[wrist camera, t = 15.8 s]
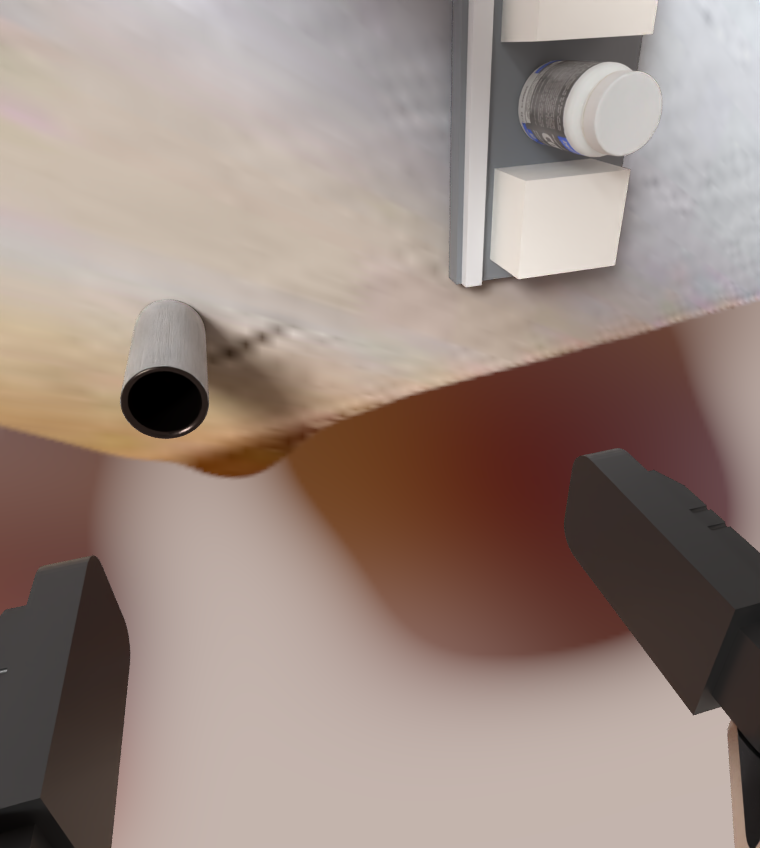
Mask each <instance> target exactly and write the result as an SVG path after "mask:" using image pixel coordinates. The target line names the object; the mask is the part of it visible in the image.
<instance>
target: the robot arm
mask: <svg viewBox="0 0 760 848" xmlns="http://www.w3.org/2000/svg"><path fill="white" fill-rule="evenodd" d="M564 529H565V535H566V539H567V543H568V545H569V548H570V549H571V552H572V554H573V555H574V556H575V558H576V559H577V561H578V562H579V563H580V565H581V566H582V567H583V569H584V570H585V571H586V573H587V574H588V575H589V577H590V578H591V579H592V581H593V582H594V583H595V585H596V586H597V587H598V589H599V590H600V591H601V593H602V594H603V595H604V597H605V598H606V599H607V601H608V602H609V603H610V604H611V606H612V607H613V609H614V610H615V611H616V613H617V614H618V615H619V617H620V618H621V619H622V621H623V622H624V623H625V624H626V626H627V627H628V629H629V630H630V631H631V633H632V634H633V635H634V637H635V638H636V639H637V641H638V642H639V643H640V645H641V646H642V647H643V649H644V650H645V651H646V653H647V654H648V655H649V657H650V658H651V659H652V661H653V662H654V663H655V665H656V666H657V667H658V669H659V670H660V671H661V673H662V674H663V675H664V677H665V678H666V679H667V681H668V682H669V683H670V685H671V686H672V687H673V689H674V690H675V691H676V693H677V694H678V695H679V697H680V698H681V699H682V701H683V702H684V703H685V705H686V706H687V707H688V709H689V710H690V711H691V713H692V714H693V715H696V714H699V713H702V712H705V711H709V710H712V709H715V708H719V707H722V709H723V710H724V711H725V712H726V714H727V715H728V716H729V717H730V719H731V721H730V723H729V727H728V735H727V736H728V749H729V750H728V752H729V766H730V782H731V797H732V811H733V812H732V813H733V828H734V843H735V848H760V553H759V552H758V551H757V550H756V549H755V548H754V547H752V546H751V545H750V544H749V543H748V542H747V541H746V540H745V539H744V538H742V537H741V536H740V535H739V534H738V533H737V532H736V531H735V530H734V529H732V528H731V527H727V526H726V525H725V521H723V520H722V519H721V518H720V517H719V516H718V515H717V514H716V513H714V512H713V511H712V510H707V508H706V505H705V504H704V503H703V502H702V501H701V500H700V499H699V498H698V497H696V496H695V495H694V494H693V493H692V492H691V491H690V490H689V489H688V488H686V487H685V486H684V485H682V484H680V483H678V482H676V481H674V480H673V479H671V478H669V477H666V476H665V475H662V474H660V473H658V472H657V471H655V470H652V471H647V470H646V469H645V468H644V467H643V466H642V465H641V464H640V463H639V462H637V461H636V460H635V459H634V458H633V457H632V456H631V455H630V454H629V453H628V452H626V451H625V450H623V449H620V448H618V449H612V450H607V451H602V452H597V453H592V454H587V455H583V456H579V457H578V458H576V460H575V461H574V464H573V468H572V474H571V481H570V487H569V494H568V500H567V507H566V513H565V520H564ZM129 666H130V644H129V636H128V630H127V626H126V623H125V620H124V617H123V615H122V613H121V610H120V608H119V605H118V603H117V601H116V598H115V596H114V593H113V591H112V588H111V586H110V584H109V581H108V579H107V576H106V574H105V572H104V569H103V567H102V565H101V563H100V561H99V559H98V558H97V557H96V556H89V557H84V558H79V559H74V560H69V561H65V562H59V563H55V564H50V565H45V566H42V567H40V568H39V569H38V571H37V573H36V575H35V578H34V582H33V585H32V588H31V592H30V595H29V598H28V602H27V605H26V606H21V607H16V608H11V609H7V610H5V611H4V612H3V613H2V614H1V616H0V848H111V844H112V834H113V825H114V815H115V805H116V795H117V785H118V775H119V765H120V755H121V745H122V736H123V726H124V715H125V705H126V695H127V686H128V675H129Z"/></svg>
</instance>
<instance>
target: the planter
mask: <svg viewBox="0 0 760 848" xmlns="http://www.w3.org/2000/svg"><path fill="white" fill-rule="evenodd" d="M120 404H121V409H122V412H123V414H124V416H125V418H126V420H127V421H128V422H129V423H130V424H131V425H132V426H133V427H134V428H135V429H136V430H138V431H140V432H141V433H143V434H145V435H148V436H151V437H155V438H162V439H170V438H177V437H181V436H184V435H186V434H188V433H190V432H192V431H193V430H195V429H196V428H197V427H198V426H199V425H200V424H201V423H202V422H203V420H204V419H205V417H206V415H207V412H208V408H209V392H208V371H207V351H206V332H205V327H204V323H203V321H202V319H201V317H200V315H199V314H198V313H197V312H196V311H195V310H194V309H193V308H192V307H190V306H189V305H187V304H185V303H183V302H180V301H176V300H160V301H157V302H154V303H152V304H150V305H148V306H147V307H145V308H144V309H143V310H142V311H141V313H140V314H139V316H138V318H137V321H136V323H135V327H134V332H133V337H132V342H131V347H130V352H129V357H128V362H127V367H126V371H125V376H124V381H123V386H122V391H121V397H120Z"/></svg>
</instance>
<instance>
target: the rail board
mask: <svg viewBox="0 0 760 848" xmlns="http://www.w3.org/2000/svg"><path fill="white" fill-rule="evenodd" d="M657 5H658V0H453V11H452V87H451V164H450V240H449V278H450V279H451V280H452V281H453V282H454V283H455V284H463V285H464V286H465V287H471V286H478V285H482V281H484V280H491V279H498V278H505V277H512V276H514V277H516V278H517V279H523V278H530V277H537V276H544V275H551V274H558V273H565V272H572V271H579V270H586V269H593V268H600V267H607V266H614V265H615V262H616V255H617V249H618V243H619V237H620V231H621V225H622V219H623V213H624V206H625V200H626V194H627V188H628V182H629V176H630V170H631V169H627V168H623V167H622V163H623V157H624V156H613V155H605V156H601V157H588V156H583V155H580V154H576V153H573V152H569V151H565V150H562V149H558V148H555V147H551V146H547V145H543V144H540V143H538V142H535V141H534V140H532V139H531V138H529V137H528V136H527V134H526V133H525V132H524V130H523V128H522V126H521V124H520V120H519V115H518V106H519V98H520V94H521V91H522V88H523V86H524V84H525V82H526V81H527V79H528V78H529V76H530V75H531V74H532V73H533V72H534V71H535V70H536V69H537V68H538V67H540V66H541V65H543V64H545V63H547V62H550V61H555V60H572V61H574V60H576V61H596V62H598V61H599V62H617V63H621V64H623V65H625V66H627V67H629V68H630V69H631V70H632V71H637V67H638V61H639V54H640V48H641V42H642V35H647V34H653V29H654V23H655V17H656V11H657Z"/></svg>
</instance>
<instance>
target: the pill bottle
mask: <svg viewBox="0 0 760 848" xmlns="http://www.w3.org/2000/svg"><path fill="white" fill-rule="evenodd" d="M661 113H662V94H661V90H660V87H659V85H658V84H657V82H656V81H655V79H654V78H653V77H651V76H650V75H648V74H647V73H644V72H640V71H632V70H631V69H630V68H629V67H627V66H625V65H623V64H621V63H617V62H599V61H598V62H596V61H576V60H574V61H572V60H555V61H550V62H547V63H545V64H543V65H541V66H540V67H538V68H537V69H536V70H535V71H534V72H533V73H532V74H531V75H530V76H529V78H528V79H527V81H526V82H525V84H524V86H523V88H522V91H521V94H520V98H519V106H518V115H519V120H520V124H521V126H522V128H523V130H524V132H525V133H526V134H527V136H528V137H529V138H531V139H532V140H534V141H535V142H538V143H540V144H543V145H547V146H551V147H555V148H558V149H562V150H565V151H569V152H573V153H576V154H580V155H583V156H588V157H601V156H605V155H613V156H625V155H629V154H631V153H634V152H636V151H637V150H639V149H640V148H641V147H643V146H644V145H645V144H646V143H647V142H648V140H649V139H650V138H651V136H652V135H653V133H654V132H655V130H656V128H657V126H658V123H659V121H660V117H661Z"/></svg>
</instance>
